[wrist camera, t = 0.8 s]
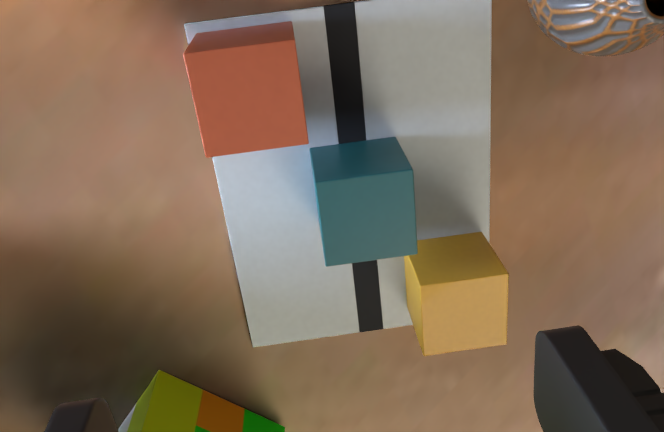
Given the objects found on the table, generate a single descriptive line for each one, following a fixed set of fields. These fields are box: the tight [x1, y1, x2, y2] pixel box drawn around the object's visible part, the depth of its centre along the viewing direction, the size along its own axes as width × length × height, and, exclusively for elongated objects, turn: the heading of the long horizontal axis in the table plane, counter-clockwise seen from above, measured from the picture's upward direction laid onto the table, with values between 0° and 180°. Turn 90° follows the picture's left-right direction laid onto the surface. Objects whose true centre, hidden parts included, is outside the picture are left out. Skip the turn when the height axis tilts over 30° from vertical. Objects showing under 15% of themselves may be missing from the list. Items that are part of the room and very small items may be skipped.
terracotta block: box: [183, 21, 309, 158], centre depth 30 cm, size 5×5×5 cm
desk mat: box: [184, 0, 492, 347], centre depth 36 cm, size 21×16×1 cm
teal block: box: [309, 137, 418, 267], centre depth 34 cm, size 5×5×5 cm
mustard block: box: [404, 232, 509, 356], centre depth 37 cm, size 5×5×5 cm
